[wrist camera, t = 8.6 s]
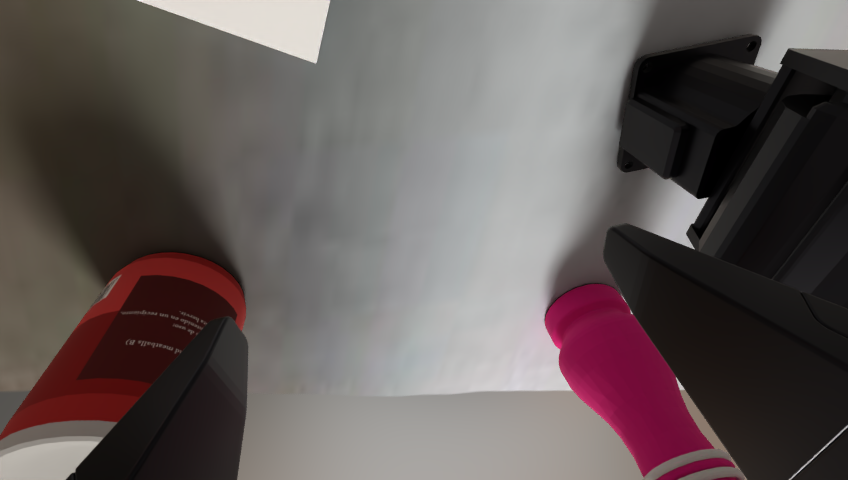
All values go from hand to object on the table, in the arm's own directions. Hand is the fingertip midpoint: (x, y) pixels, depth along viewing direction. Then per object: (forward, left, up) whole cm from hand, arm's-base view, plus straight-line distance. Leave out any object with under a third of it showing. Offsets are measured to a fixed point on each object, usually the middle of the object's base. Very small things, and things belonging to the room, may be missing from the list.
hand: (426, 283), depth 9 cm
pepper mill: (-12, +19, -13) cm, 26 cm away
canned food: (+15, +9, -13) cm, 22 cm away
